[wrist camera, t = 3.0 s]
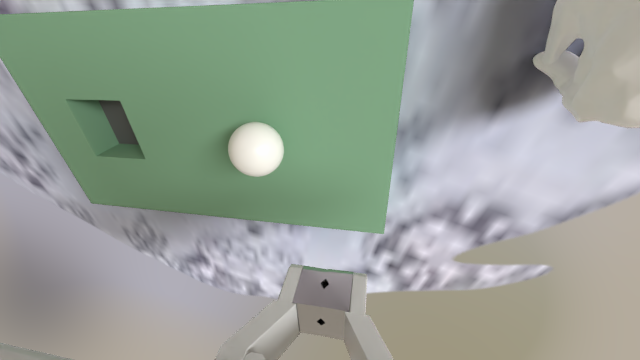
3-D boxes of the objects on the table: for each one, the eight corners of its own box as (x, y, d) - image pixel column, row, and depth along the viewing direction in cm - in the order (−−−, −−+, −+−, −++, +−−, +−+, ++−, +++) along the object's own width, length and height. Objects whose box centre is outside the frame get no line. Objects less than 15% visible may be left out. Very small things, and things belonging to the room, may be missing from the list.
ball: (237, 113, 21) (210, 134, 18) (287, 114, 20) (269, 136, 17) (247, 158, 23) (224, 185, 20) (292, 161, 22) (277, 189, 19)
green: (17, 13, 23) (-26, 15, 21) (409, -3, 17) (414, -4, 15) (113, 188, 33) (91, 203, 30) (383, 212, 27) (383, 234, 25)
